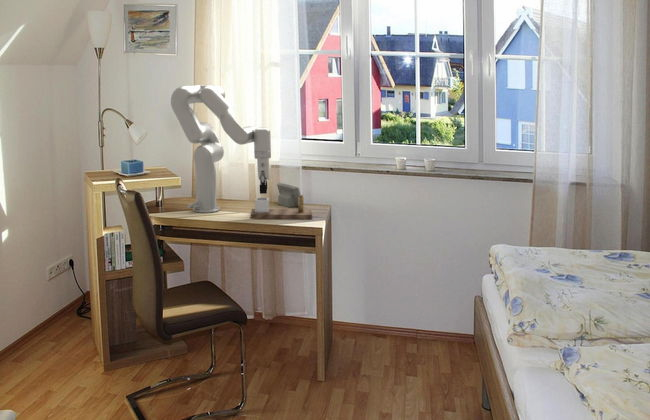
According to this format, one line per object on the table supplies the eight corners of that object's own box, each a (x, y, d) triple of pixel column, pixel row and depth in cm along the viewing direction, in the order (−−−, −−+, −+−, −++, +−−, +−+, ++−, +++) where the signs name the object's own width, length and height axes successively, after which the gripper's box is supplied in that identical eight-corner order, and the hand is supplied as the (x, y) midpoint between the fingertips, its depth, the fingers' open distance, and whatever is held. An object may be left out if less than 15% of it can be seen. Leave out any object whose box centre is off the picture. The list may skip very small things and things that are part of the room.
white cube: (254, 213, 345) (254, 200, 344) (255, 210, 351) (255, 197, 350) (268, 213, 345) (268, 200, 344) (269, 210, 351) (269, 197, 350)
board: (250, 218, 342) (250, 197, 340) (251, 212, 354) (251, 192, 352) (311, 219, 344) (312, 197, 342) (311, 213, 356) (311, 192, 354)
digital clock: (304, 207, 369) (305, 186, 367) (288, 209, 365) (288, 187, 362) (290, 201, 383) (290, 180, 380) (274, 202, 378) (274, 181, 376)
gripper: (270, 157, 334) (271, 194, 338) (271, 152, 351) (272, 188, 354) (253, 157, 334) (254, 195, 337) (255, 152, 351) (256, 188, 354)
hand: (263, 191), depth 346 cm, fingers open, 9 cm apart
